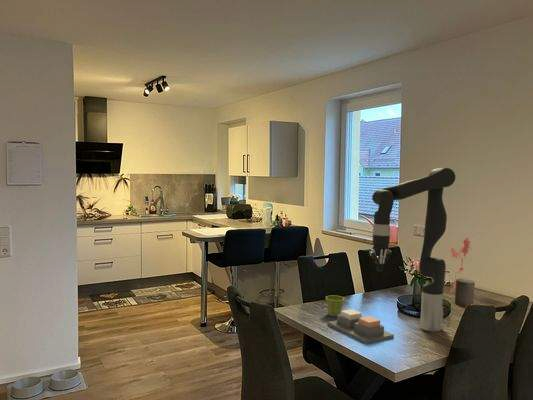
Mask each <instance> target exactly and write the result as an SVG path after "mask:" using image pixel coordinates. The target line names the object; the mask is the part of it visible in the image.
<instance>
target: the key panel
mask: <svg viewBox="0 0 533 400" xmlns="http://www.w3.org/2000/svg"><path fill="white" fill-rule="evenodd" d="M362 317H363V316H361V318H362ZM358 321H359V319H354V320H349V319H346V318H344V317H342V316H341V314H340V315H337V316H336V320H332V321H327V326H328V327H330V328H332V329H335V330H336V331H338V332H340V333H342V334H345V335H346V336H349V337H351V338H353V339H355V340H357V341H359V342H361V343H363V344H365V345H368V344H372V343H377V342H382V341H385V340H386V341H387V340H391V339H394V338H395V337H394V335H395V334H393V333H391V332H388V331H386V330H385V326H384V325H382V324H380V326H378V327H373V328H367V327H364V326H362V325H360V324H358Z"/></svg>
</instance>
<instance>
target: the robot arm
mask: <svg viewBox="0 0 533 400" xmlns="http://www.w3.org/2000/svg"><path fill="white" fill-rule="evenodd" d="M455 181H456V174H455V172H454V170H453V169H452V168H450V167H439V168H434V169H432V170H430V172H429V174H428V176H423V177H420V178H418V179H412V180H408V181H404V182H402V183H398V184H396V185H392V186H389V187H384V188H379V189H377V190H375V191H374V192H373V193H372V195H371V197H372V199H371V200H372V201H373V202H374V204H375V205H377V206H378V209H377V210H376V211H375V212H374V213H373V214H374V216H373V227H372V244H373V246H372V250H371V251H368V256H369V257H370V258H371V260H372V262H373V263H376V269H375V270H376V272H378V273H382V272H383V271H384V264H385V263H387V262H388V261H389V259H390V258H391V255H392V254H393V251H392V250H390V248H389V246H390V240H391V237H390V236H391V227H390V226H391V213H392V211H393V206H394V202H395V201H399V200H404V199H408V198H410V197H412V196H416V195H419V194H421V193H425V192H427V202H426V214H425V219H424V220H425V221H424V233H423V243H422V250H421V253H420V259H419V265H418V271H419V274H420V275H421V276H422V277H424V278H425V277H426V278H432V279H433V282H430V283H424V284H423V285H422V286H421V302H420V304H421V305H420V318H419V319H420V322H419V323H420V324H419V327H420V329H422V330H424V331H428V332H432V333H433V332H436V333H437V332H441V331H442V330H443V323H444V322H443V321H444V308H443V300H444V299H443V298H444V297H443V296H444V288H445V279H446V277H445V276H446V269H447V265H446V261H445V260H444V259H442V258H437V257H431V256H432V251H433V249H434V247H435V246H436V245H437V243H438V242H439V240H440V239H441V238H442V237H443V235H444V234H445V233H446V229H447V219H448V217H447V216H448V215H447V211H446V207H445V205H444V201H443V195H444V194H443V193H444V188H449V187H451V186H452V185H453V184H454V182H455Z"/></svg>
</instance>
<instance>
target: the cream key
mask: <svg viewBox="0 0 533 400" xmlns="http://www.w3.org/2000/svg"><path fill="white" fill-rule="evenodd" d="M340 315H341V316H342V317H344V318H346V319H349V320H354V319H359V318H361V317H362V312H359V311H357V310H356V309H345V310H341V314H340Z"/></svg>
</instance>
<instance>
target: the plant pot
mask: <svg viewBox="0 0 533 400" xmlns="http://www.w3.org/2000/svg"><path fill="white" fill-rule="evenodd" d="M325 300H326V302H327V304H326V305H327V314H328V316H331V317H337V315H341V311H342V308H343V303H344V301H345V297H343V296H340V295H332V294H331V295H327V296H325Z"/></svg>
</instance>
